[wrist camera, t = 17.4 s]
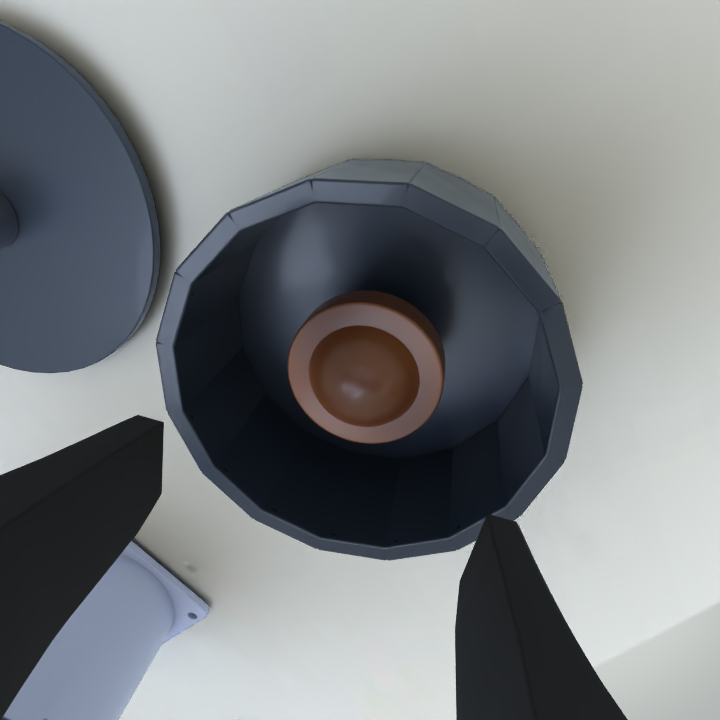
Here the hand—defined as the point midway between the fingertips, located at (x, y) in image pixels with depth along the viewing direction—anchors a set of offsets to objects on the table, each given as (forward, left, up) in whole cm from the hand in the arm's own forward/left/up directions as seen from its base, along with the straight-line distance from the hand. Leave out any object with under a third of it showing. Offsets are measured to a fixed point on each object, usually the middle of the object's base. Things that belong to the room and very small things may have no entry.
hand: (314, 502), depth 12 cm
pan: (0, 0, -10) cm, 10 cm away
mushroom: (0, 0, -10) cm, 10 cm away
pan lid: (-8, +13, -9) cm, 18 cm away
